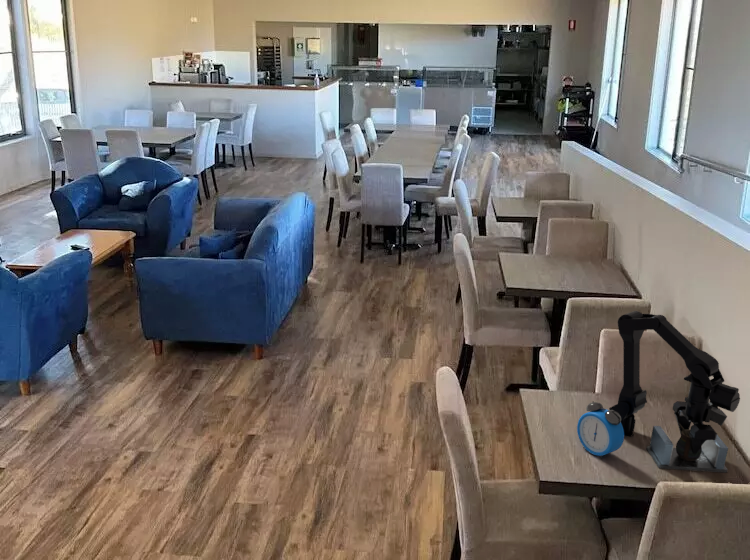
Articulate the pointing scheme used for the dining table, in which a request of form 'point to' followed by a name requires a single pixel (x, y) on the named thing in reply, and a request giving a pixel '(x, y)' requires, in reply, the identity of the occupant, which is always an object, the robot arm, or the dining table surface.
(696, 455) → the mate gourd
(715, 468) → the vise bed
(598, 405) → the alarm clock
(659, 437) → the free jaw
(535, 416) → the dining table surface
